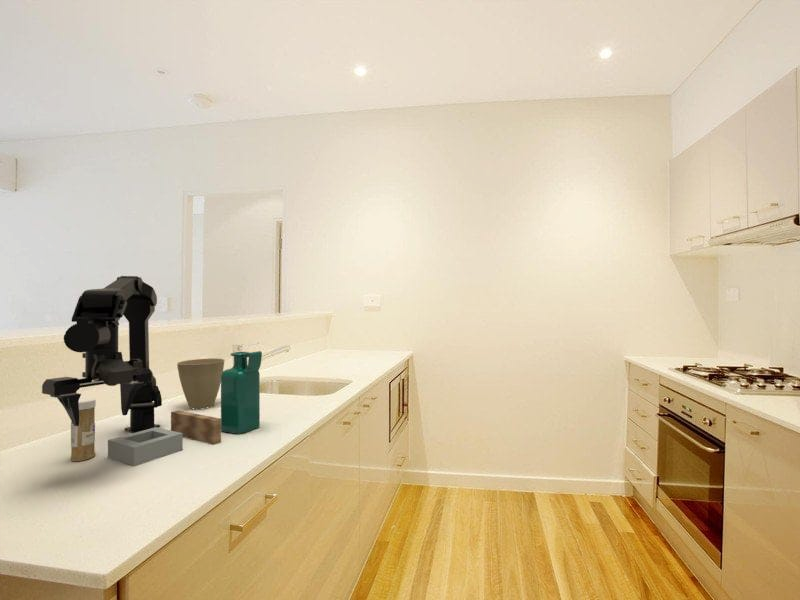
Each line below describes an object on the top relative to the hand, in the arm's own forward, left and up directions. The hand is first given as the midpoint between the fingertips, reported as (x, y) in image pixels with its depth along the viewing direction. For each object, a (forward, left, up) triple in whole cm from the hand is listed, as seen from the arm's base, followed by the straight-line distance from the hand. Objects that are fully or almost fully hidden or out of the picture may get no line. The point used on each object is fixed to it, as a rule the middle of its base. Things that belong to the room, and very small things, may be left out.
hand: (101, 420), depth 86 cm
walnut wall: (-1, +22, -10) cm, 24 cm away
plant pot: (-30, +44, -11) cm, 54 cm away
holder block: (-1, +10, -10) cm, 14 cm away
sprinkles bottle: (-11, +1, -11) cm, 15 cm away
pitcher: (+4, +33, -11) cm, 35 cm away
